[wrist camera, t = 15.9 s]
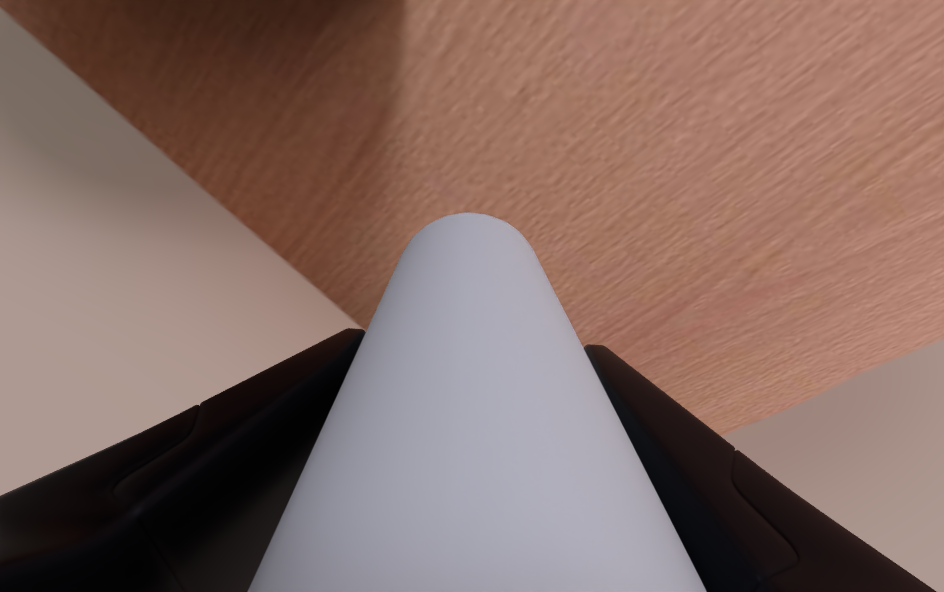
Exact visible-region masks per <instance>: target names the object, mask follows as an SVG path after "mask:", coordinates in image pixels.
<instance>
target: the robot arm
mask: <svg viewBox="0 0 944 592" xmlns="http://www.w3.org/2000/svg"><path fill="white" fill-rule="evenodd" d="M365 333H366V332H365V331H364V330H363V329H350V328H348V329H345V330H343V331H341V332H339V333H337V334H335V335H333V336H331V337H329V338H327V339H326V340H323V341H321V342H319V343H318V344H316V345H314V346H312V347H310V348H308V349H306V350H304V351H302V352H300V353H298V354H296V355H294V356H292V357H290V358H288V359H286V360H284V361H282V362H280V363H278V364H276V365H274V366H272V367H270V368H268V369H266V370H264V371H262V372H260V373H258V374H256V375H255V376H253V377H251V378H249V379H247V380H245V381H243V382H241V383H239V384H237V385H235V386H233V387H231V388H229V389H227V390H225V391H223V392H221V393H219V394H217V395H215V396H213V397H211V398H209V399H207V400H205V401H203V402H202V403H201V404H200V406H199V405H195V406H193V407H192V408H189V409H188V410H185V411H184V412H182V413H180V414H178V415H176V416H174V417H172V418H170V419H168V420H166V421H163V422H161V423H160V424H157V425H156V426H153V427H151V428H149V429H147V430H145V431H143V432H141V433H139V434H137V435H134V436H132V437H130V438H128V439H126V440H123V441H121V442H119V443H117V444H115V445H113V446H110V447H108V448H106V449H104V450H102V451H99V452H97V453H95V454H93V455H91V456H88V457H86V458H84V459H82V460H79V461H77V462H75V463H73V464H70V465H68V466H66V467H64V468H61V469H59V470H57V471H55V472H53V473H50V474H48V475H46V476H44V477H42V478H39V479H37V480H35V481H32V482H30V483H28V484H26V485H23V486H21V487H19V488H17V489H15V490H12V491H10V492H8V493H5V494H4V495H1V496H0V592H248V590H249V588H250V585H251V583H252V581H253V579H254V577H255V574H256V572H257V570H258V568H259V566H260V563H261V561H262V559H263V557H264V555H265V552H266V550H267V548H268V546H269V544H270V542H271V539H272V537H273V535H274V533H275V531H276V528H277V526H278V524H279V522H280V520H281V517H282V515H283V513H284V511H285V509H286V506H287V504H288V502H289V500H290V498H291V496H292V493H293V491H294V489H295V487H296V485H297V482H298V480H299V478H300V476H301V474H302V471H303V469H304V467H305V465H306V463H307V460H308V458H309V456H310V454H311V452H312V450H313V447H314V445H315V443H316V441H317V439H318V436H319V434H320V432H321V430H322V428H323V425H324V423H325V421H326V419H327V417H328V414H329V412H330V410H331V408H332V406H333V404H334V401H335V399H336V397H337V395H338V393H339V390H340V388H341V386H342V384H343V382H344V379H345V377H346V375H347V373H348V371H349V368H350V366H351V364H352V362H353V360H354V358H355V355H356V353H357V351H358V349H359V347H360V344H361V342H362V340H363V338H364V336H365ZM584 350H585V352H586V354H587V356H588V358H589V360H590V362H591V364H592V366H593V368H594V370H595V372H596V374H597V376H598V378H599V380H600V382H601V384H602V386H603V388H604V390H605V392H606V394H607V396H608V398H609V400H610V402H611V404H612V406H613V408H614V410H615V412H616V413H617V415H618V417H619V419H620V421H621V423H622V425H623V427H624V429H625V431H626V433H627V435H628V437H629V439H630V441H631V443H632V445H633V447H634V449H635V451H636V453H637V455H638V457H639V459H640V461H641V463H642V465H643V467H644V469H645V471H646V473H647V475H648V477H649V479H650V481H651V483H652V485H653V487H654V489H655V491H656V492H657V494H658V496H659V498H660V500H661V502H662V504H663V506H664V508H665V510H666V512H667V514H668V516H669V518H670V520H671V522H672V524H673V526H674V528H675V530H676V532H677V534H678V536H679V538H680V540H681V542H682V544H683V546H684V548H685V550H686V552H687V554H688V556H689V558H690V560H691V562H692V564H693V566H694V568H695V570H696V571H697V573H698V575H699V577H700V579H701V581H702V583H703V585H704V587H705V589H706V591H707V592H936V591H935V590H933V589H932V588H931V587H929V586H928V585H926V584H925V583H923V582H922V581H920V580H919V579H918V578H916V577H915V576H913V575H912V574H910V573H909V572H907V571H906V570H904V569H903V568H902V567H900V566H899V565H897V564H896V563H894V562H893V561H891V560H890V559H889V558H887V557H885V556H884V555H882V554H881V553H880V552H878V551H877V550H876V549H874V548H873V547H871V546H870V545H868V544H867V543H865V542H864V541H863V540H861V539H860V538H858V537H857V536H855V535H854V534H852V533H851V532H850V531H848V530H847V529H845V528H844V527H842V526H841V525H839V524H838V523H836V522H835V521H834V520H832V519H831V518H829V517H828V516H827V515H825V514H824V513H822V512H820V511H819V510H818V509H816V508H815V507H814V506H812V505H811V504H810V503H808V502H807V501H805V500H804V499H802V498H801V497H800V496H798V495H797V494H795V493H794V492H792V491H791V490H790V489H789V488H787V487H786V486H784V485H783V484H782V483H780V482H779V481H778V480H777V479H775V478H774V477H773V476H771V475H770V474H769V473H767V472H766V471H765V470H763V469H762V468H761V467H759V466H758V465H757V464H756V463H754V462H753V461H752V460H750V459H749V458H748V457H747V456H745V455H744V454H743V453H741V452H740V451H738V450H736V451H735V448H734V446H732V445H731V444H730V443H728V442H727V441H726V440H725V439H723V438H722V437H721V436H719V435H718V434H717V433H716V432H714V431H713V430H712V429H710V428H709V427H708V426H707V425H705V424H704V423H703V422H702V421H700V420H699V419H698V418H696V417H695V416H694V415H693V414H691V413H690V412H689V411H687V410H686V409H685V408H684V407H682V406H681V405H680V404H678V403H677V402H676V401H675V400H673V399H672V398H671V397H669V396H668V395H667V394H666V393H664V392H663V391H662V390H660V389H659V388H658V387H657V386H655V385H654V384H653V383H651V382H650V381H649V380H648V379H646V378H645V377H644V376H643V375H641V374H640V373H639V372H637V371H636V370H635V369H634V368H632V367H631V366H630V365H628V364H627V363H626V362H625V361H623V360H622V359H621V358H619V357H618V356H617V355H616V354H614V353H613V352H612V351H610V350H609V349H608V348H607V347H605V346H603V345H590V344H588V345H586V346H585V347H584Z"/></svg>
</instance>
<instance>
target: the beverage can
mask: <svg viewBox="0 0 944 592" xmlns="http://www.w3.org/2000/svg"><path fill="white" fill-rule="evenodd" d="M248 592H707V591H706V589H705V587H704V585H703V583H702V581H701V579H700V577H699V575H698V573H697V571H696V570H695V568H694V566H693V564H692V562H691V560H690V558H689V556H688V554H687V552H686V550H685V548H684V546H683V544H682V542H681V540H680V538H679V536H678V534H677V532H676V530H675V528H674V526H673V524H672V522H671V520H670V518H669V516H668V514H667V512H666V510H665V508H664V506H663V504H662V502H661V500H660V498H659V496H658V494H657V492H656V491H655V489H654V487H653V485H652V483H651V481H650V479H649V477H648V475H647V473H646V471H645V469H644V467H643V465H642V463H641V461H640V459H639V457H638V455H637V453H636V451H635V449H634V447H633V445H632V443H631V441H630V439H629V437H628V435H627V433H626V431H625V429H624V427H623V425H622V423H621V421H620V419H619V417H618V415H617V413H616V412H615V410H614V408H613V406H612V404H611V402H610V400H609V398H608V396H607V394H606V392H605V390H604V388H603V386H602V384H601V382H600V380H599V378H598V376H597V374H596V372H595V370H594V368H593V366H592V364H591V362H590V360H589V358H588V356H587V354H586V352H585V350H584V348H583V347H582V345H581V343H580V341H579V339H578V337H577V335H576V333H575V331H574V329H573V327H572V325H571V323H570V321H569V319H568V317H567V315H566V313H565V311H564V309H563V308H562V306H561V304H560V302H559V300H558V298H557V296H556V294H555V292H554V290H553V288H552V286H551V284H550V282H549V280H548V278H547V276H546V274H545V272H544V270H543V268H542V267H541V265H540V263H539V261H538V259H537V257H536V255H535V253H534V251H533V249H532V247H531V246H530V244H529V243H528V242H527V240H526V239H525V238H524V236H523V235H522V234H521V233H520V232H519V231H518V230H516V229H515V228H514V227H512V226H511V225H509V224H508V223H507V222H505V221H503V220H500V219H497V218H495V217H492V216H489V215H487V214H477V213H467V212H466V213H460V214H454V215H448V216H445V217H442V218H440V219H438V220H436V221H434V222H431V223H429V224H427V225H426V226H425V227H424V228H423V229H421V230H420V231H419V232H418V233H417V234H416V235H414V236H413V237H412V239H411V240H410V242H409V243H408V245H407V246H406V248H405V249H404V251H403V252H402V255H401V257H400V259H399V261H398V263H397V266H396V268H395V270H394V272H393V274H392V276H391V279H390V281H389V283H388V285H387V287H386V290H385V292H384V294H383V296H382V298H381V301H380V303H379V305H378V307H377V309H376V312H375V314H374V316H373V318H372V320H371V322H370V325H369V327H368V329H367V331H366V333H365V336H364V338H363V340H362V342H361V344H360V347H359V349H358V351H357V353H356V355H355V358H354V360H353V362H352V364H351V366H350V368H349V371H348V373H347V375H346V377H345V379H344V382H343V384H342V386H341V388H340V390H339V393H338V395H337V397H336V399H335V401H334V404H333V406H332V408H331V410H330V412H329V414H328V417H327V419H326V421H325V423H324V425H323V428H322V430H321V432H320V434H319V436H318V439H317V441H316V443H315V445H314V447H313V450H312V452H311V454H310V456H309V458H308V460H307V463H306V465H305V467H304V469H303V471H302V474H301V476H300V478H299V480H298V482H297V485H296V487H295V489H294V491H293V493H292V496H291V498H290V500H289V502H288V504H287V506H286V509H285V511H284V513H283V515H282V517H281V520H280V522H279V524H278V526H277V528H276V531H275V533H274V535H273V537H272V539H271V542H270V544H269V546H268V548H267V550H266V552H265V555H264V557H263V559H262V561H261V563H260V566H259V568H258V570H257V572H256V574H255V577H254V579H253V581H252V583H251V585H250V588H249V590H248Z"/></svg>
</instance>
